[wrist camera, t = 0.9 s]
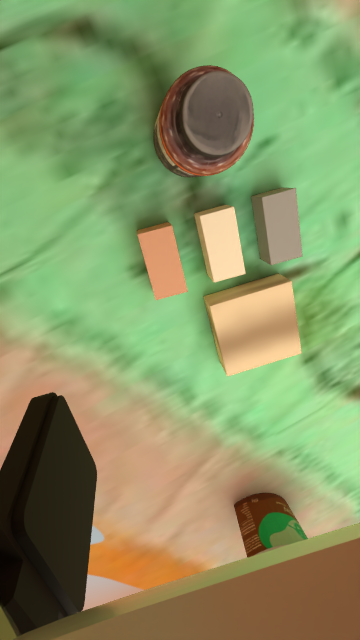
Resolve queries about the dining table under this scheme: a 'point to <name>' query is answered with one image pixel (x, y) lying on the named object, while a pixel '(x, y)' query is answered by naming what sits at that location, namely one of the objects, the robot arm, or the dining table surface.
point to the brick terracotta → (162, 260)
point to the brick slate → (277, 225)
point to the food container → (267, 523)
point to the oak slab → (254, 323)
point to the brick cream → (220, 242)
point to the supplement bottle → (204, 122)
